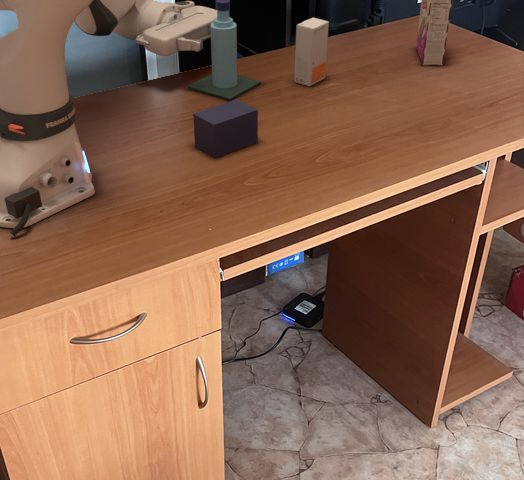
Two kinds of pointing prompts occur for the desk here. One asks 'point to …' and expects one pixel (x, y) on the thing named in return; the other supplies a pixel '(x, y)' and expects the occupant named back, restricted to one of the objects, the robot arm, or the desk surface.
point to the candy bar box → (433, 31)
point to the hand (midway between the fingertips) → (215, 39)
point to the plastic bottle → (224, 47)
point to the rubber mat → (224, 93)
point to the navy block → (225, 128)
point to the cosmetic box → (311, 51)
